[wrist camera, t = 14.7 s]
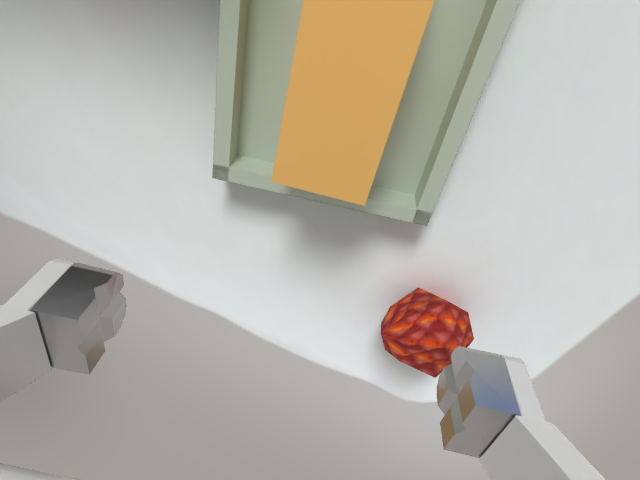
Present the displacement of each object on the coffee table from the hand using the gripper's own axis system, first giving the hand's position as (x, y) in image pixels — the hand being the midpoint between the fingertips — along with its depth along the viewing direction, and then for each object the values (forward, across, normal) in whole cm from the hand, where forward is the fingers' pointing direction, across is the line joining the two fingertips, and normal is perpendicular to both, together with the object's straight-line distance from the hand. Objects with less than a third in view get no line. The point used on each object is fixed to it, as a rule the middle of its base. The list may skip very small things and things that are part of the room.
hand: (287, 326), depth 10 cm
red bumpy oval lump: (+19, -10, +15) cm, 26 cm away
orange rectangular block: (+18, 0, -3) cm, 18 cm away
